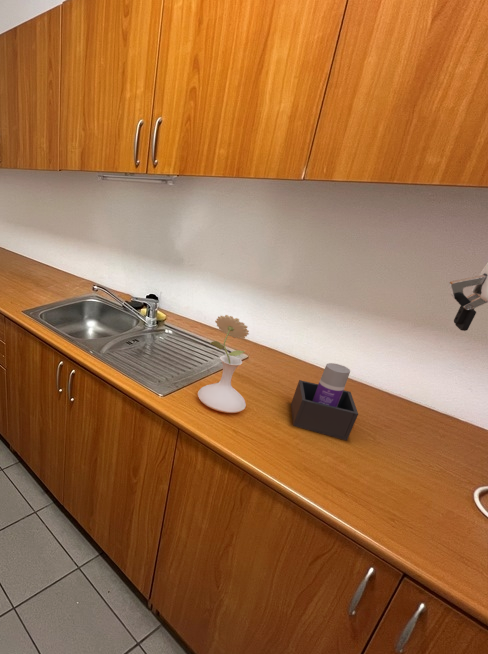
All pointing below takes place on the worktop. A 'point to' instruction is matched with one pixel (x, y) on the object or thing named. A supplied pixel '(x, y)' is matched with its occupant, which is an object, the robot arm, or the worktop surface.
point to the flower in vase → (226, 371)
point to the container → (331, 384)
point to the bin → (323, 412)
